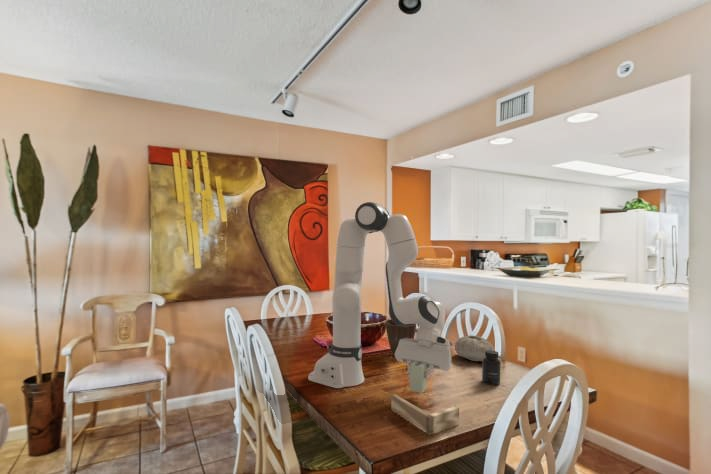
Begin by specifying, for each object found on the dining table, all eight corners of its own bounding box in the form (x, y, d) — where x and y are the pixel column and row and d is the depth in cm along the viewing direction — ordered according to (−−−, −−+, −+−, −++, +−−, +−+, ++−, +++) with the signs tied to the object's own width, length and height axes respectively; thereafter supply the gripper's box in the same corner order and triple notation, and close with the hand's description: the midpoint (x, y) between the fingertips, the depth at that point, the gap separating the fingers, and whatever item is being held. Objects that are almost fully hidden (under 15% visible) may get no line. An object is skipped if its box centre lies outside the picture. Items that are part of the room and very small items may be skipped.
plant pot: (416, 351, 185) (416, 319, 185) (416, 361, 170) (416, 326, 170) (386, 349, 187) (386, 318, 187) (383, 359, 173) (383, 324, 173)
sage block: (413, 385, 132) (414, 360, 132) (425, 388, 130) (426, 362, 130) (409, 390, 128) (410, 363, 128) (421, 393, 126) (422, 366, 126)
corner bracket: (419, 401, 128) (419, 387, 128) (459, 424, 112) (459, 407, 112) (391, 410, 121) (391, 395, 121) (429, 435, 106) (429, 417, 106)
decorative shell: (502, 360, 172) (502, 339, 172) (478, 368, 162) (478, 345, 162) (470, 350, 186) (470, 331, 186) (446, 357, 176) (446, 336, 176)
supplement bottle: (491, 387, 141) (491, 355, 141) (478, 380, 147) (478, 350, 147) (504, 383, 144) (504, 353, 144) (490, 377, 150) (490, 348, 150)
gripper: (398, 332, 140) (387, 365, 132) (453, 341, 131) (445, 377, 122) (402, 341, 144) (392, 374, 136) (455, 350, 135) (447, 386, 126)
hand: (417, 376), depth 129 cm, fingers closed on sage block, 4 cm apart
